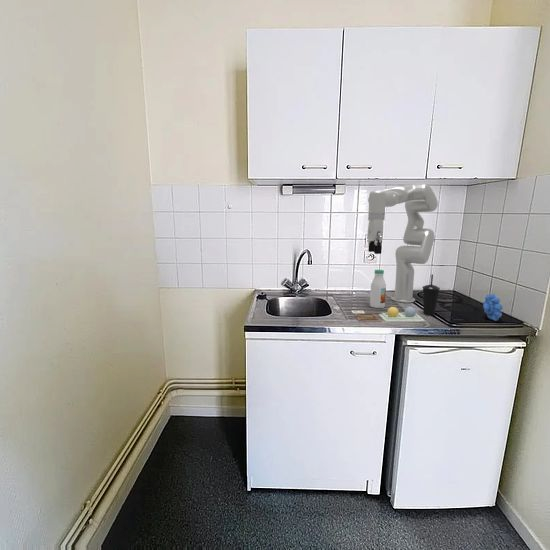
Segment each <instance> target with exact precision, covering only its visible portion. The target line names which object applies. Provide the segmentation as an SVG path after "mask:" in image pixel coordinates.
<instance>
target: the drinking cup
mask: <svg viewBox="0 0 550 550" xmlns="http://www.w3.org/2000/svg"><path fill="white" fill-rule="evenodd" d="M430 277H431V278H430V284H427V285H423V286H422V295H423V296H422V301H423V303H422V304H423V305H422V306H423V307H422V308H423V309H422V310H423V314H424V315H425V316H429V317H430V316H431V317H432V316H435V314H436V309H437V302H438V299H439V293H440V290H441V288H440V286H437V285H435V284H433V279H434V273H433V274H431V275H430Z"/></svg>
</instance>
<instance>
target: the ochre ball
mask: <svg viewBox="0 0 550 550" xmlns="http://www.w3.org/2000/svg"><path fill="white" fill-rule="evenodd" d="M399 311H400V310H399V308H397V307H395V306H391V307H389V308H388V309H387V312H386V313H388V315H389V316H390V317H397V316H398V314H399V313H400V312H399Z"/></svg>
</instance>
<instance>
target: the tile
mask: <svg viewBox="0 0 550 550" xmlns="http://www.w3.org/2000/svg"><path fill="white" fill-rule="evenodd" d="M351 312H352V314H353V315H354V314H366V312H365V311H364V310H351Z"/></svg>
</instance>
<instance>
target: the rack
mask: <svg viewBox="0 0 550 550" xmlns="http://www.w3.org/2000/svg"><path fill="white" fill-rule="evenodd" d="M378 316H379V318H382V320H383V321H384V322H386V323H387V322H389V323H390V322H391V323H393V322H396V323H397V322H406V323H407V322H409V323H410V322H413V323H414V322H417V323H418V322H422V323H423V322H426V320H425V319H424V318H423V317H421V316H420V315H419V314H417V313H416V314H415V316H413V317H407V316H406V315H405V313H404V312H399V314H398V316H397V317H390V316H389V315H388V313H387V312H381V313H378Z"/></svg>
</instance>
